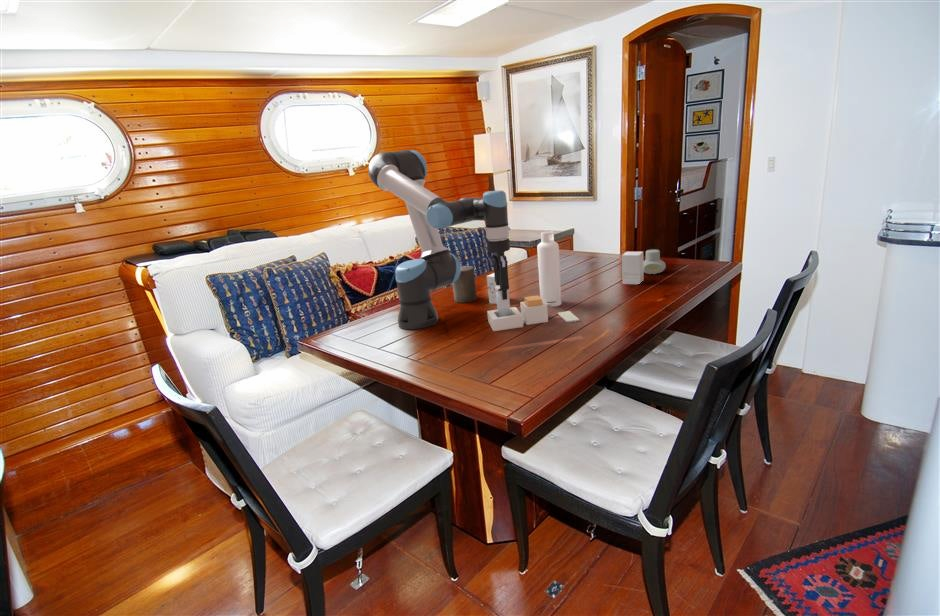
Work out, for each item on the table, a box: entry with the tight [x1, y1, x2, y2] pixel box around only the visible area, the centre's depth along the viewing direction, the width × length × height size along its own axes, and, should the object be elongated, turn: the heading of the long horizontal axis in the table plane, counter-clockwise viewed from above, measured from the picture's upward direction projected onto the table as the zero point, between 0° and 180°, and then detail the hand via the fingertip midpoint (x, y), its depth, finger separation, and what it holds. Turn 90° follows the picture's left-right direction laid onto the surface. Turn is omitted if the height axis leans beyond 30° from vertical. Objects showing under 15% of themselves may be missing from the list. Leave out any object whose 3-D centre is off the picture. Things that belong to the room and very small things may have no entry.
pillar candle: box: [452, 265, 478, 304], centre depth 203 cm, size 10×10×15 cm
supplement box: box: [621, 251, 644, 285], centre depth 202 cm, size 7×7×13 cm
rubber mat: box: [557, 310, 580, 323], centre depth 170 cm, size 10×10×1 cm
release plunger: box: [523, 295, 542, 307], centre depth 168 cm, size 5×5×8 cm
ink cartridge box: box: [486, 272, 510, 305], centre depth 196 cm, size 9×5×15 cm, turn 143°
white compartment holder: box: [486, 300, 549, 332], centre depth 168 cm, size 20×10×7 cm, turn 98°
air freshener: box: [643, 249, 667, 275], centre depth 213 cm, size 11×8×10 cm
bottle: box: [536, 230, 562, 308], centre depth 183 cm, size 8×8×28 cm
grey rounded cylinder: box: [495, 285, 511, 317], centre depth 166 cm, size 5×5×12 cm
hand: (503, 305), depth 166 cm, fingers closed on grey rounded cylinder, 5 cm apart
